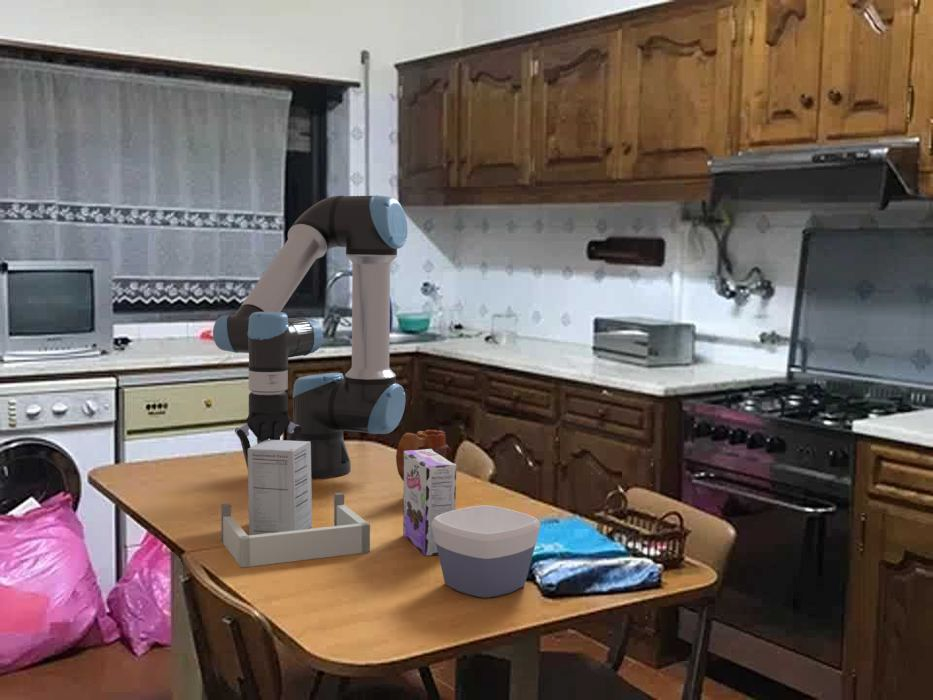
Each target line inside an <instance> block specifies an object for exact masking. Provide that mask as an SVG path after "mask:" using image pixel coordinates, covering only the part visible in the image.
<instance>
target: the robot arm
mask: <svg viewBox="0 0 933 700" xmlns="http://www.w3.org/2000/svg"><path fill="white" fill-rule="evenodd" d="M407 238H408V221H407V216H406V214H405V211H404V208H402V204H401V203H400V202H399V201H398V200H397V199H395V197H392V196H386V195H385V196H384V195H378V194H377V195H334V196H329V197H327V198H324V199H322V200H320V201H318V202H317V203H314V204H313V205H312V206H311V207H309V208H307V209H306V210H305V211H304V212H303V213H302V214H301V215H299V217H298V218H297V219H296V220H295V222H293V223H292V225H291V227H290V228H289V230H288V232H287V240H286V242H285V243H284V244H283V246H282V247H281V249H280V250H279V252H278V253H277V255H276V256H275V258H274V259H273V260H272V261H271V263H270V265H269V266H268V267H267V268H266V270H265V271H264V273H263V274H262V276H261V277H260V278H259V280H258V281H257V283H256V284H255V285H254V287H253V288H252V289H251V291H250V292H249V294H248V295H247V297H246V299H244V301H243V303H241V305H240V307H239V308H238V309H237V311H236V312H235V314H233V315H232V314H227V315H221V316H220V317H218V318H217V319H216V320H215V322H214V325H213V328H212V337H213V338H212V339H213V342H214V343H215V345H216V347H217V348H218V349H220V350H221V351H225V352H230V353H231V352H232V353H235V354H238V353H241V354H242V353H243V354H248V390H249V391H250V392H249V394H248V416H247V418H246V420H245V424H243V425H241V426H240V427H236V428H234V429H235V430H234V433H235V434H236V436H237V437H238V439H239V441H240V444H241V448H242V452H243V456H244V460H245V464H246V468H247V469H248V449H249V448H250V447H251V444H250V441H249V438H248V437H249V435H250V432H249V430H250V431H251V432H252V433H253V435H254V436H255V437H256V445H257V444H259V443H261V442H263V441H265V440H281V437H282V435H283V434H285V432H286V430H287V433H288V434H287V437H286V440H288V441H308V442H311V479H322V478H323V479H324V478H325V479H326V478H335V477H339V476H344V475H346V474H349V473H350V472H351V466H352V465H351V464H352V463H351V459H350V456H349V453H348V450H347V446H346V444H345V441H344V431H348V432H358V433H366V434H367V433H368V434H370V435H375V434H377V435H378V434H381V435H386V434H389V433H391V432H393V431H394V430H395V429H396V428H397V427H398V425H399V423H400V422H401V420H402V418H403V415H404V412H405V407H406V393H405V389H404V387H403V386H402V385H400V384H399V383H397V380H396V377H397V375H396V373H395V372H394V371H393V370H392V369H391V368H390V332H391V331H390V330H391V329H390V327H391V326H390V325H391V324H390V323H391V319H390V317H391V263H392V262H393V261H394V260H395V259H396V258H397V257H398V249H401V248H402V247H404V245H405V244H406V241H407V240H406V239H407ZM337 247H339V248H345V257H347V258H348V260H349V261H350V262H351V263H352V269H351V270H352V271H351V272H352V277H351V278H352V285H351V286H352V288H351V291H352V292H351V293H352V296H351V297H352V298H351V303H352V304H351V309H352V310H351V330H352V331H351V368H350V369H348V371H347V372H346V373H345V375H344V374H343V373H341V372H330V373H321V374H320V373H319V374H318V373H317V374H310V375H305V376H300V377H299V378H297V379H296V380H295V381H294V384H293V392H292V398H293V399H292V401H293V403H292V406H293V411H292V412H293V415H292V416H293V422H292V421H291V417H290V415H289V394H288V392H286V391H287V390H288V389H289V383H288V382H289V380H288V378H289V374H288V373H289V359H290V358H295V357H302V356H303V357H305V356H307V355H310V354H313V353H315V352H317V351H318V350H319V349H320V348H321V347H322V343H323V340H324V333H323V328H322V326H321V325H320V323H318V322H317V321H316V320H315V319H313V318H309V317H297V318H288V317H289V316H288V315H287V313H286V312H282V310H283V309H284V307H285V306H286V304H287V303H288V301H289V299H290V298H291V296H292V295H293V294H294V292H295V291H296V290H297V288H298V286H299V285H300V283H301V282H302V281H303V279H304V278H305V276H306V275H307V273H308V272H309V270H311V269H310V268H311V267H312V265H313V264H314V263H315V261H316V260H317V259H321V258H322V257H324V256H325V254H326V253H327V251H329V250H330V249H333V248H337Z"/></svg>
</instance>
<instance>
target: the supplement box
mask: <svg viewBox="0 0 933 700" xmlns="http://www.w3.org/2000/svg"><path fill="white" fill-rule="evenodd" d="M247 490H248V491H247V492H248V536H249V535H258V534H267V533H276V532H285V531H294V530H304V529H311V528H312V527H313V510H312V509H313V507H312V505H313V504H312V501H313V498H312V497H313V496H312V493H313V492H312V478H311V442H308V441H288V440H287V439H285V440H283V439H282V440H281V439H280V440H270V439H268V440H265V441H263V442H261V443H259V444H257V443H256V444H254V445H253V446H250V448H249V449H248V468H247Z"/></svg>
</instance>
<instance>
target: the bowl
mask: <svg viewBox="0 0 933 700" xmlns="http://www.w3.org/2000/svg"><path fill="white" fill-rule="evenodd" d="M431 526H432V530H433V535H434V539H435V543H436V547H437V551H438V555H437V556H438V558H439V563H440V568H441V572H442V576H443V581H444V584H446V585H447V587H449V588H450V589H451V588H452V590H454V591H457V592H459V593H462V594H465V595H468V596H472V597H476V598H480V597H481V598H482V599H489V598H495V597H500V596H504V595H508V594H510V593H513V592H515V591H517V590H519V589H521V588H523V587H524V586H525V584H526V581H527V578H528V574H529V570H530V566H531V563H532V560H533V556H534V551H535V548H536V545H537V541H538V537H539V533H540V530H541V523H540V521H539V519H537V518H536V517H534V516H532V515H529V514H527V513H524V512H520V511H517V510H513V509H509V508H505V507H500V506H495V505H487V504H484V505H475V506H468V507H463V508H458V509H455V510H453V511H450V512H446V513H444V514H441V515H438V516H436V517H435V518H434V519H433V520H432V523H431Z"/></svg>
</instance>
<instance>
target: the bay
mask: <svg viewBox="0 0 933 700" xmlns="http://www.w3.org/2000/svg"><path fill="white" fill-rule="evenodd" d="M333 503H334V506H333V507H334V508H333V509H334V510H333V511H334V512H333V518H334V519H333V522H334V523H333V525H332V526H324V527H323V526H322V527H314V528H309V529H304V530H294V531H285V532H276V533H267V534H258V535H249V534H247V533H246V532H245V530H244V528H242V527H241V525H240V524H239V523H238V522H237V521H236V520H235V518H234V517H233V516H232V505H231V503H221V504H220V508H221V510H220V513H221V514H220V517H221V518H220V520H221V523H220V524H221V525H220V526H221V543H223V545H224V546H225V549H227V551H228V552H229V553H230V554H231V556H232V557H233V559H234V560H235V561H236V563H237V564H238V565H239V567H240V568H249V567H250V568H251V567H257V566H265V565H266V566H267V565H275V564H283V563H290V562H299V561H307V560H315V559H322V558H323V559H324V558H331V557H333V558H334V557H338V556H339V557H341V556H348V555H356V554H363V553H364V554H365V553H370V552H371V523H368V522H367V521H366V520H364V519H363V518H362V517H361V516H360V515H358V514H357V513H356V512H354V510H351V508H350V507H348V506H347V505H345V494H344V492H335V493H334V494H333Z"/></svg>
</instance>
